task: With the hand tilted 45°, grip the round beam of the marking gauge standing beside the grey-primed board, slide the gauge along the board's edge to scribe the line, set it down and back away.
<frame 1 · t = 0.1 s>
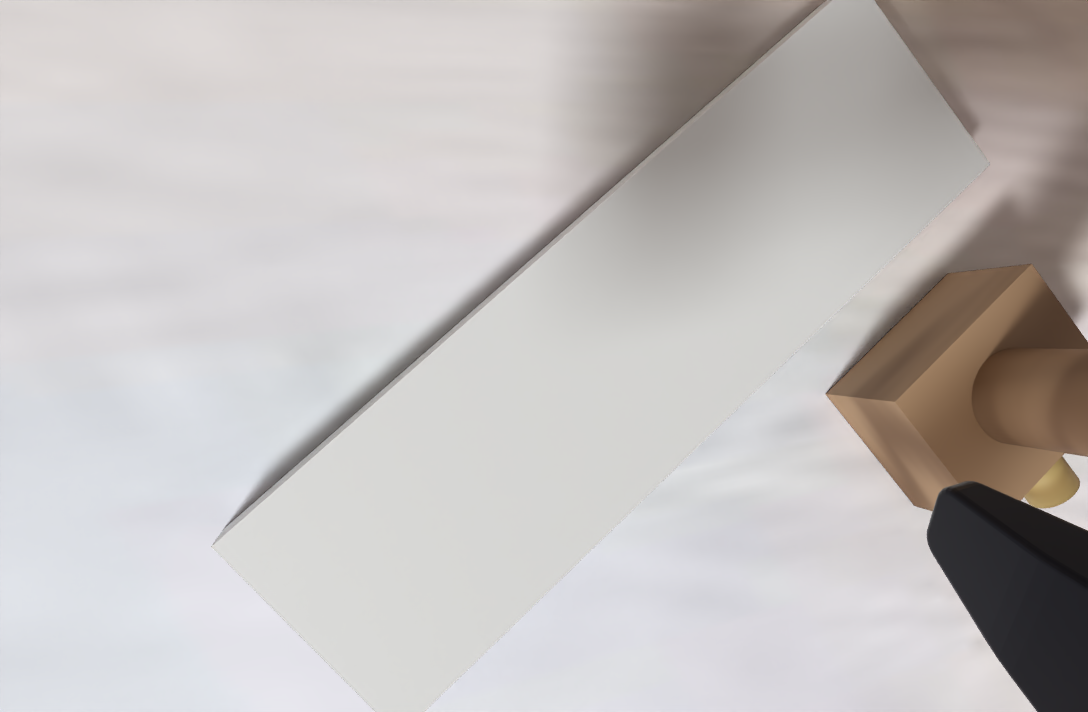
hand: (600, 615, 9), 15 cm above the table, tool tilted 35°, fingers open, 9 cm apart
board: (619, 335, 25), on the table
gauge: (931, 389, 27), on the table
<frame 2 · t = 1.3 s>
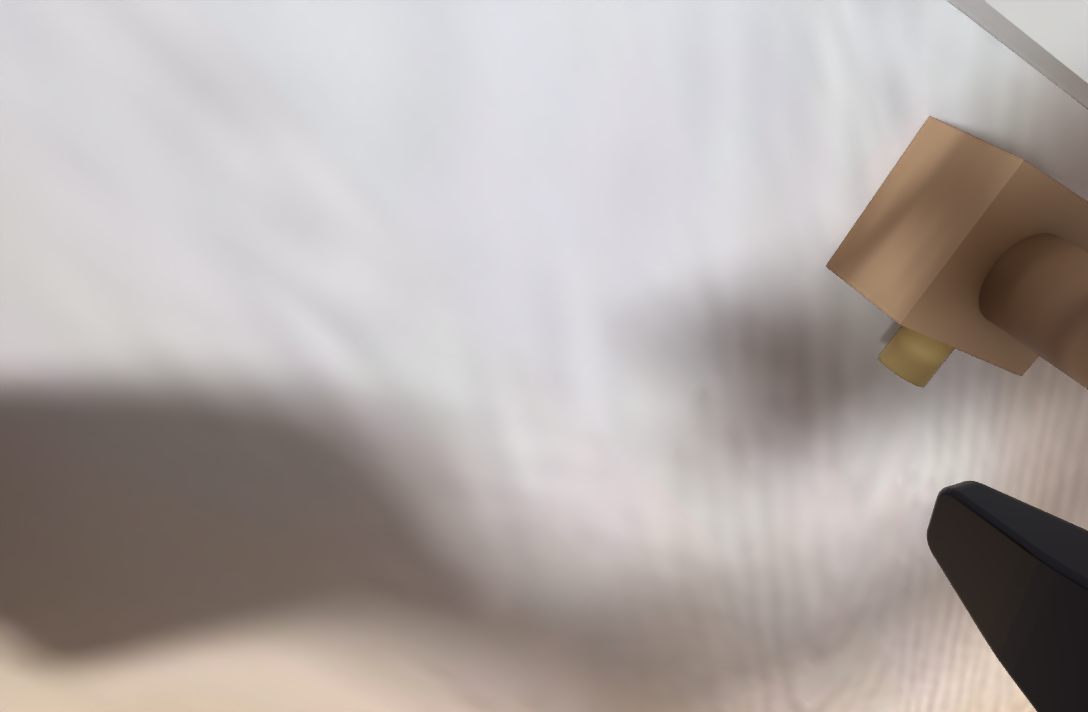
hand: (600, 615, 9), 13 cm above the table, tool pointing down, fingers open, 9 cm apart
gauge: (936, 227, 26), on the table
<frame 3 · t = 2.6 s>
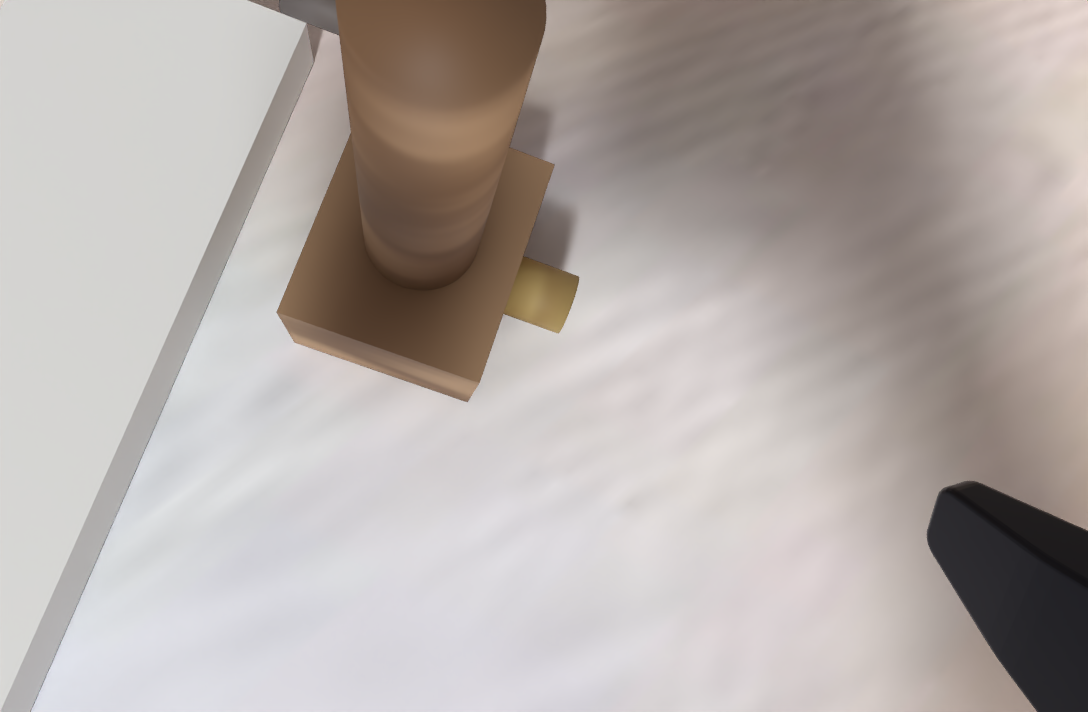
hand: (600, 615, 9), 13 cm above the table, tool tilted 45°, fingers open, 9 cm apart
board: (8, 407, 21), on the table
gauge: (418, 274, 24), on the table
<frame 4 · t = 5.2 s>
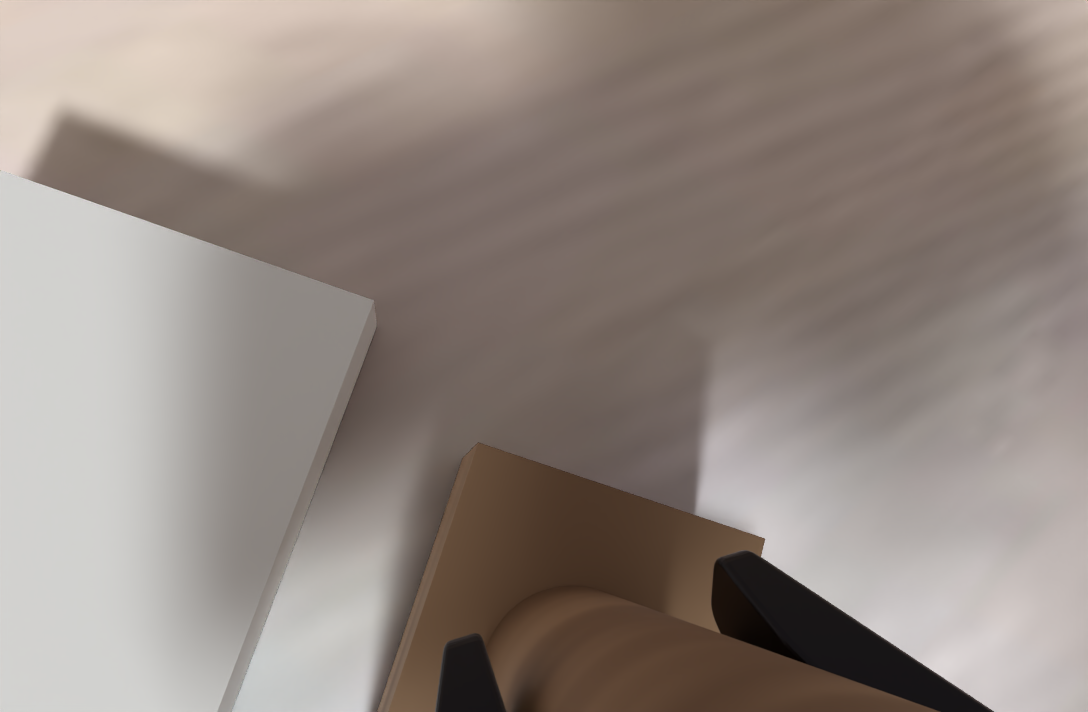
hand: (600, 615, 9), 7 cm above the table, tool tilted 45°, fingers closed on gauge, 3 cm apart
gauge: (534, 646, 16), on the table, touching gripper
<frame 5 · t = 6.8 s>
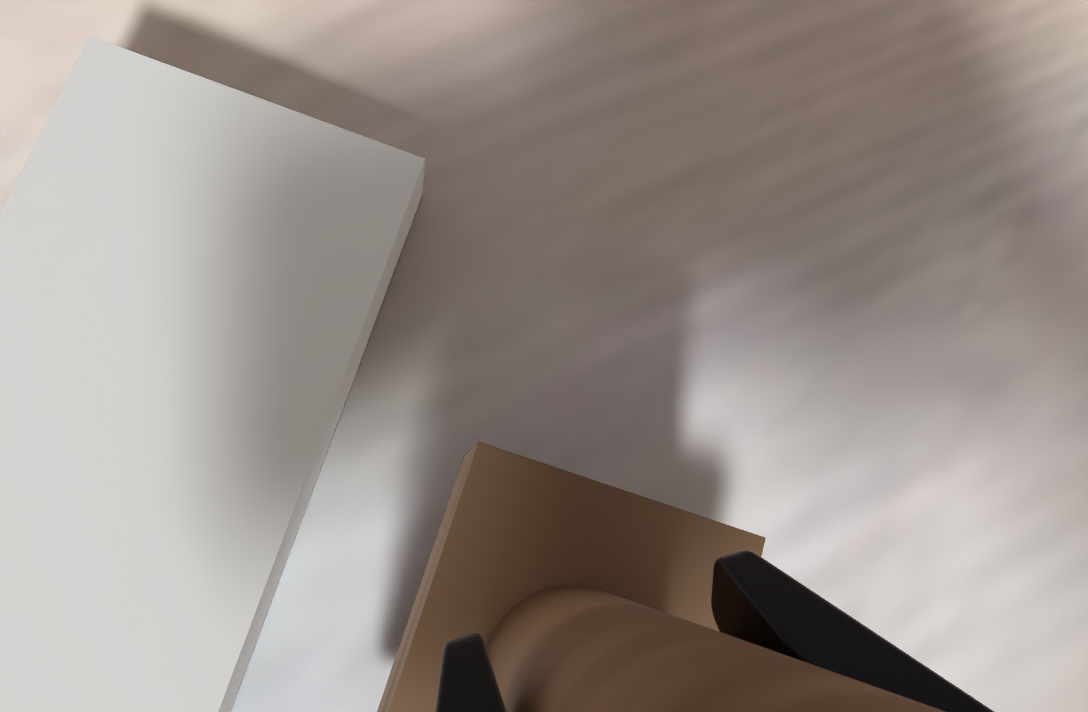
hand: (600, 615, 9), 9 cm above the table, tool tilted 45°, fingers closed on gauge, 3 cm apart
board: (47, 678, 16), on the table
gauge: (535, 645, 16), point 2 cm above the table, touching gripper
when the fingers open (8 cm above the table, at t = 8.2 s): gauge stays where it is, on the table.
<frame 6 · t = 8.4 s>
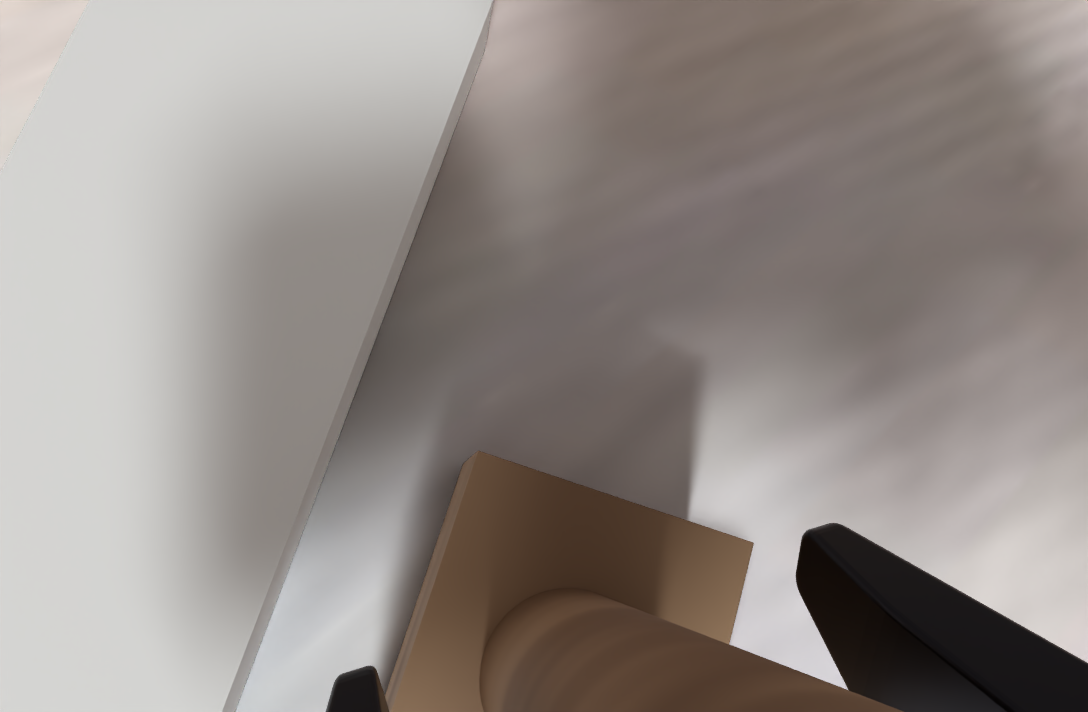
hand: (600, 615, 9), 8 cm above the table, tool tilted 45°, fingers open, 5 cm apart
board: (112, 510, 16), on the table
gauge: (532, 645, 17), on the table
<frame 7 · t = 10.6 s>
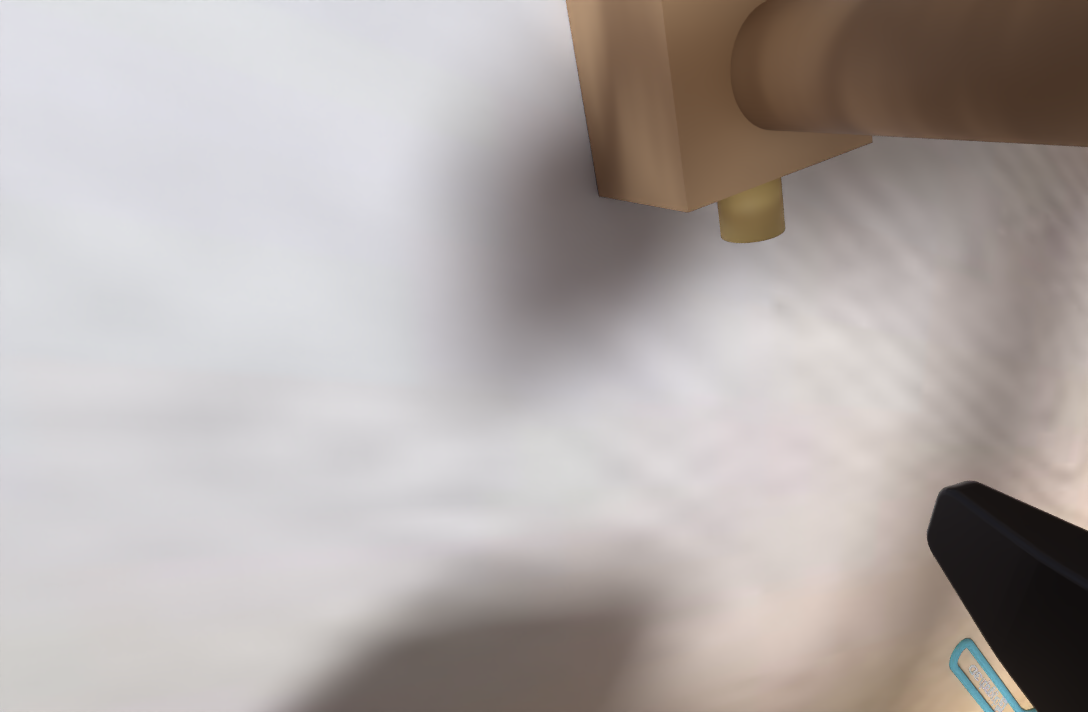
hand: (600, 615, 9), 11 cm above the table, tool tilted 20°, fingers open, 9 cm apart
blue flat looped piece: (985, 699, 42), on the table
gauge: (677, 69, 21), on the table
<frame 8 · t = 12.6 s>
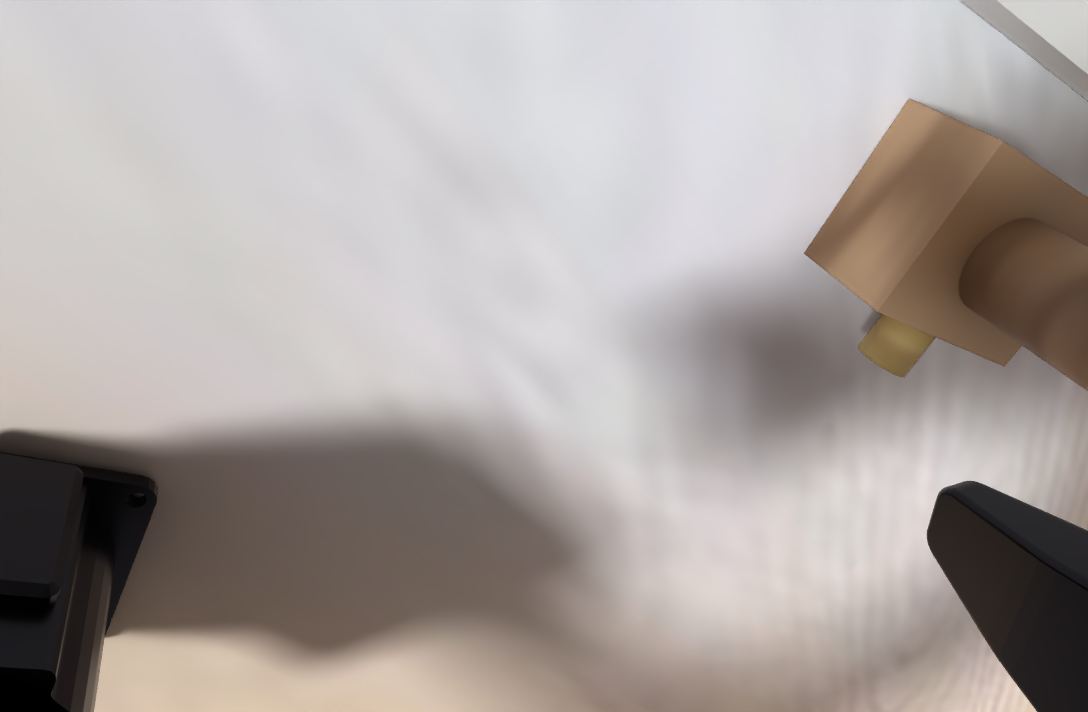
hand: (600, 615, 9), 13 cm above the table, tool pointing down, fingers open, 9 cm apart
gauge: (918, 213, 25), on the table
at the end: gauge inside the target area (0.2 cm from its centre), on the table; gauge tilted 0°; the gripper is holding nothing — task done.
